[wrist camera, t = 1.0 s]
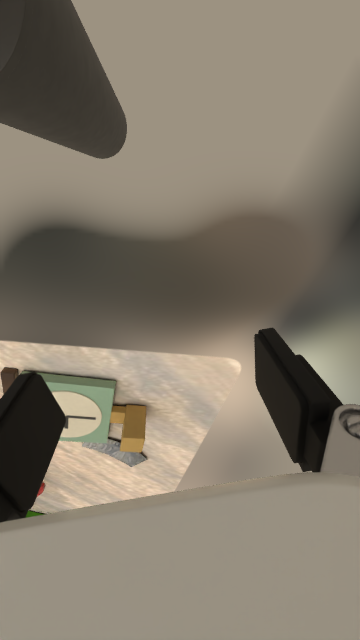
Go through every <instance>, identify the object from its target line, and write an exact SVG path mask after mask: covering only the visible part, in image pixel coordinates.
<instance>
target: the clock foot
mask: <svg viewBox="0 0 360 640" xmlns="http://www.w3.org/2000/svg"><path fill="white" fill-rule="evenodd" d="M17 376H18V370H17V369H11V368H4V369H3V370H2V371H1V379H2V386H3V392H4V394H5V392H6V391H7V390H8V388H9V387H10V386H11V384H12V383H13V382H14V380H15V379H16V377H17Z"/></svg>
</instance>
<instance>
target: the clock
mask: <svg viewBox="0 0 360 640" xmlns="http://www.w3.org/2000/svg"><path fill="white" fill-rule="evenodd" d="M24 373H29V372H27V371H22V373H21V374H24ZM37 374H40V375H41V376H42V377H43V379H44V381H45V382H46V384H47V386H48V387H49V389H50V391H51V392H52V394H53V396H54V397H55V399H56V401H57V402H58V404H59V406H60V407H61V409H62V411H63V412H64V414H65V417H66V423H65V426H64V428H63V431H62V434H61V436H60V439H59V441H75V442H91V443H107V439H108V433H109V426H110V423H120V424H123V429H122V437H121V445H120V451H122V452H140V453H141V452H142V448H143V445H144V441H145V425H146V406H136V405H126V407H123V406H113V399H114V392H115V385H116V381H110V380H101V379H92V378H83V377H73V376H64V375H55V374H46V373H37Z"/></svg>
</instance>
